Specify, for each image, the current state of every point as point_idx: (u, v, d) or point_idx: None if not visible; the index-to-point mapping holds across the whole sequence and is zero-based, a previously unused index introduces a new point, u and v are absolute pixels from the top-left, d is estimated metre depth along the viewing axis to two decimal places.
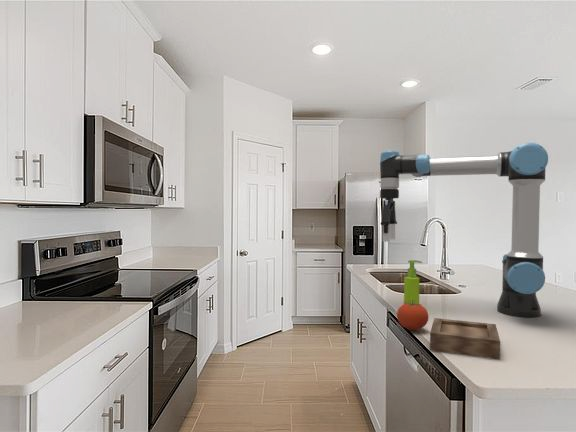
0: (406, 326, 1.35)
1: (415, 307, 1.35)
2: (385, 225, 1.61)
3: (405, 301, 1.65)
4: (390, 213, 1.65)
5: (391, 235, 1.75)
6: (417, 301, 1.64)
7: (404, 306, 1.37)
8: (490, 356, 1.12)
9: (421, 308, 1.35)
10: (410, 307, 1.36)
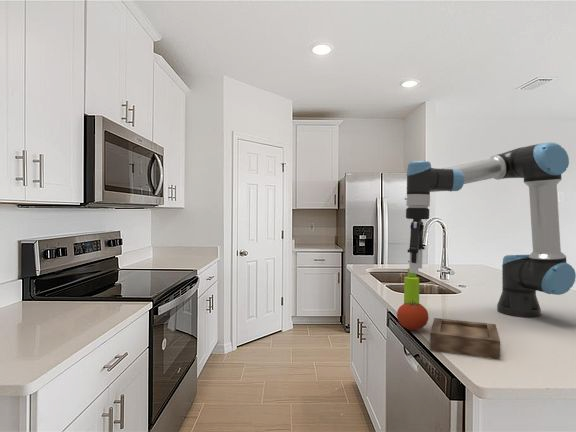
0: (406, 326, 1.35)
1: (415, 307, 1.35)
2: (413, 253, 1.30)
3: (405, 301, 1.65)
4: (419, 238, 1.34)
5: None
6: (417, 301, 1.64)
7: (404, 306, 1.37)
8: (490, 356, 1.12)
9: (421, 308, 1.35)
10: (410, 307, 1.36)
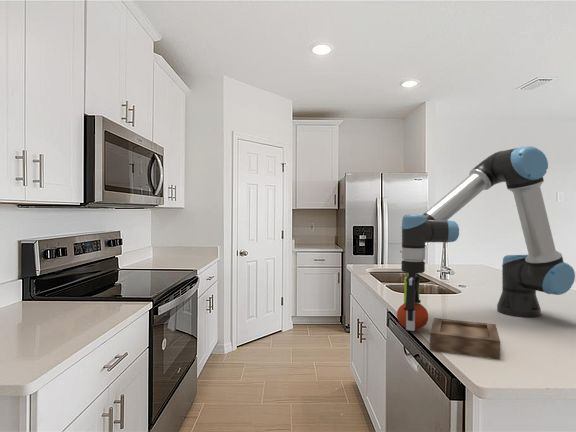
0: None
1: (415, 307, 1.35)
2: (410, 311, 1.32)
3: (405, 301, 1.65)
4: (415, 293, 1.34)
5: None
6: None
7: (404, 306, 1.37)
8: (490, 356, 1.12)
9: (421, 308, 1.35)
10: None
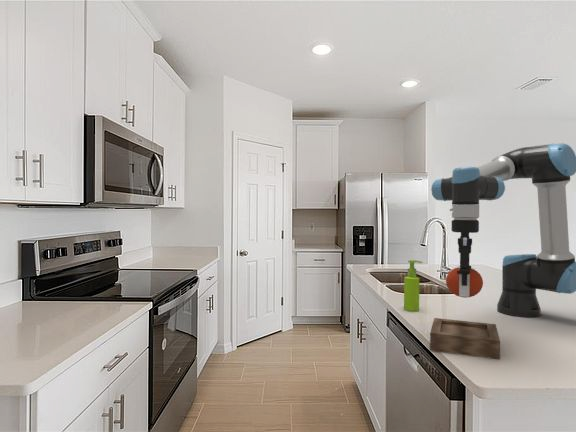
0: (458, 292, 1.20)
1: None
2: (464, 275, 1.16)
3: (405, 301, 1.65)
4: None
5: None
6: (417, 301, 1.64)
7: (455, 270, 1.22)
8: (490, 356, 1.12)
9: (475, 272, 1.20)
10: None
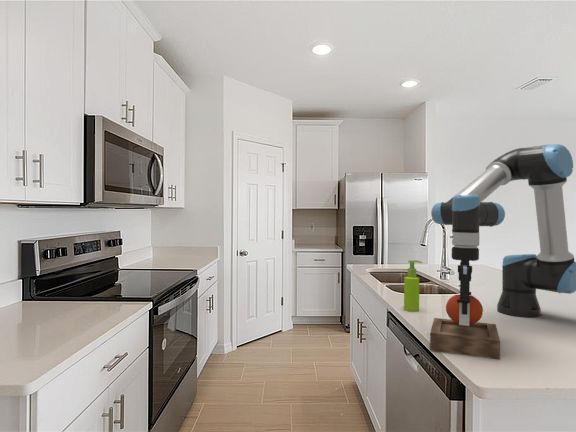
0: (458, 320, 1.20)
1: None
2: (464, 304, 1.16)
3: (405, 301, 1.65)
4: None
5: None
6: (417, 301, 1.64)
7: (455, 298, 1.22)
8: (490, 356, 1.12)
9: (475, 300, 1.20)
10: None
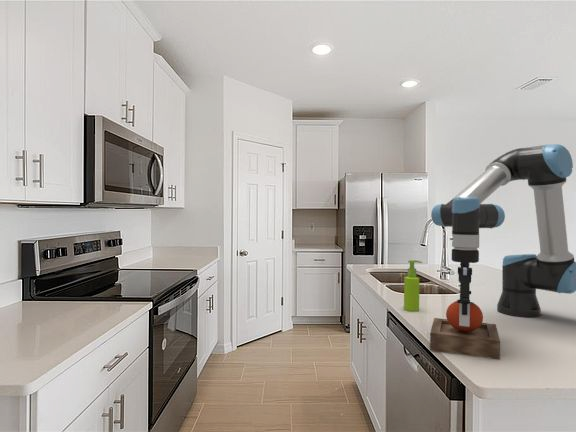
0: (458, 327, 1.20)
1: None
2: (464, 304, 1.15)
3: (405, 301, 1.65)
4: None
5: None
6: (417, 301, 1.64)
7: (455, 305, 1.22)
8: (490, 356, 1.12)
9: (475, 307, 1.20)
10: None
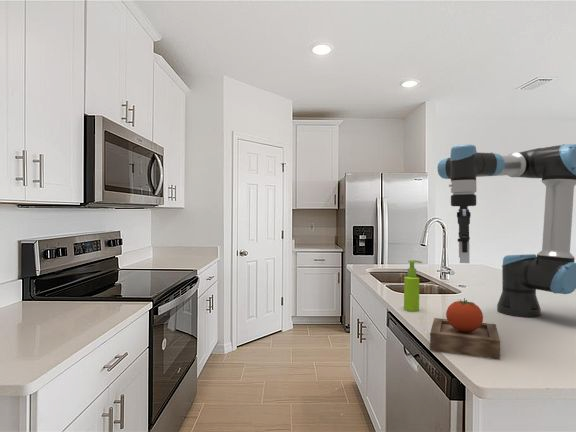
0: (458, 327, 1.20)
1: (469, 306, 1.20)
2: (464, 242, 1.24)
3: (405, 301, 1.65)
4: None
5: None
6: (417, 301, 1.64)
7: (455, 305, 1.22)
8: (490, 356, 1.12)
9: (475, 307, 1.20)
10: (463, 306, 1.20)
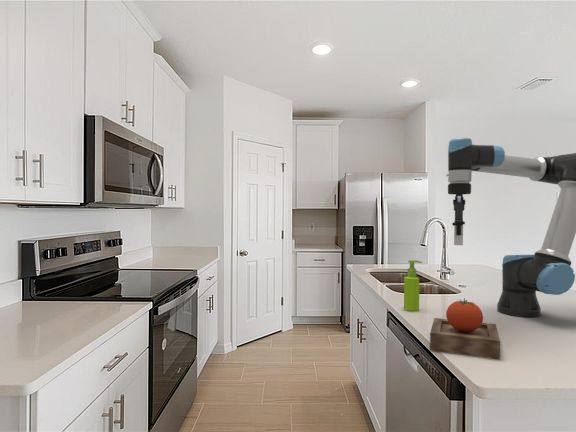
0: (458, 327, 1.20)
1: (469, 306, 1.20)
2: (458, 226, 1.36)
3: (405, 301, 1.65)
4: None
5: None
6: (417, 301, 1.64)
7: (455, 305, 1.22)
8: (490, 356, 1.12)
9: (475, 307, 1.20)
10: (463, 306, 1.20)
